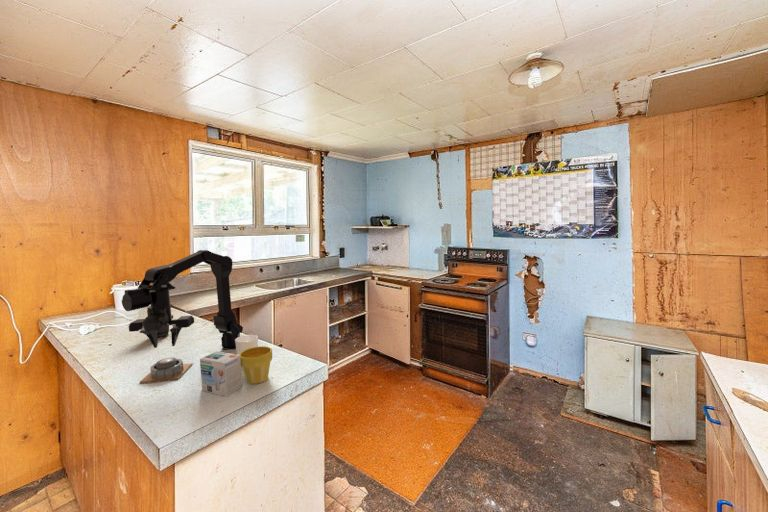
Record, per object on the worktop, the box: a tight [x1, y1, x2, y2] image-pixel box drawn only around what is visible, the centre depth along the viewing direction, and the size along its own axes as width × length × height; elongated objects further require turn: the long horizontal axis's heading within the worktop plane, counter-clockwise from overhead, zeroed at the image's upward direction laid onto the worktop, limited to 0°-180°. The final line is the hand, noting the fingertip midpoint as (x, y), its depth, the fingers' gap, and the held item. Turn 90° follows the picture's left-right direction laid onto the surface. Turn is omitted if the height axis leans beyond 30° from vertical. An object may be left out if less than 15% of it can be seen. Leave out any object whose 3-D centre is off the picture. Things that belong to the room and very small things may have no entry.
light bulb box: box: [199, 350, 243, 397], centre depth 105 cm, size 11×7×11 cm, turn 69°
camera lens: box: [146, 305, 170, 340], centre depth 155 cm, size 8×8×15 cm
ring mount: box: [139, 358, 193, 384], centre depth 117 cm, size 12×12×3 cm
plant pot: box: [239, 345, 273, 385], centre depth 110 cm, size 10×10×10 cm
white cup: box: [235, 334, 259, 368], centre depth 123 cm, size 8×8×10 cm
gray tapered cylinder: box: [155, 357, 177, 369], centre depth 117 cm, size 6×6×4 cm
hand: (164, 346), depth 116 cm, fingers open, 5 cm apart
